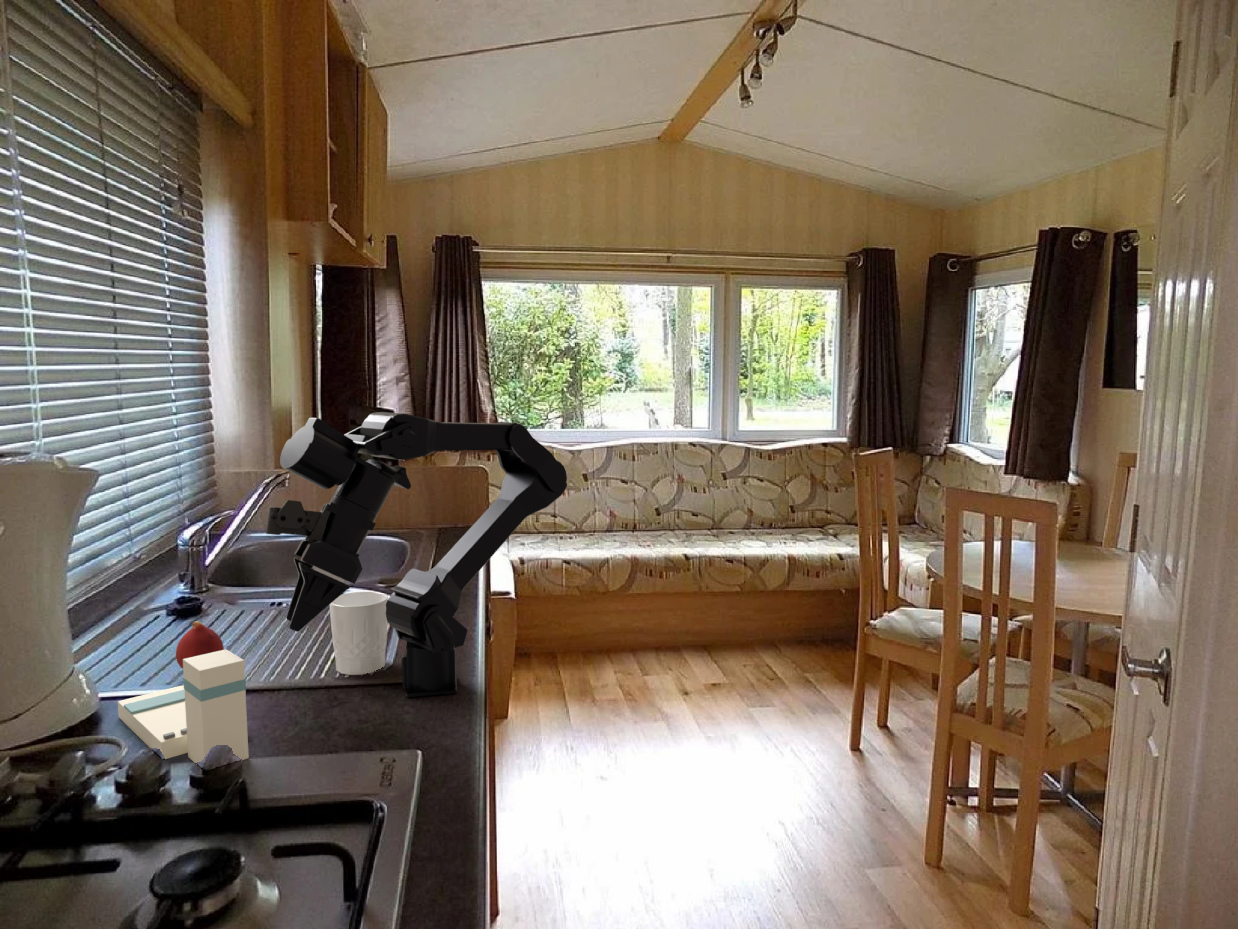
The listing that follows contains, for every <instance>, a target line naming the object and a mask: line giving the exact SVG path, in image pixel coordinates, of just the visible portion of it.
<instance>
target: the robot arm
mask: <svg viewBox="0 0 1238 929" xmlns="http://www.w3.org/2000/svg"><path fill="white" fill-rule="evenodd" d="M441 451H495V453H496V455H497V459H498V463H499V466H500V468H501V469H502V470H503V472H504V473H505V474H506V475H504V478H503V479H502V482H501V488H500V493H499V496H498V497H497V499H495V501H493V503H491V505H490V506H489V507H488V508H487V509H486V510H485V511H484V512H483V514H482V515H481V516H479V518H478V519H477V521H476V522H474V523H473V525H472V526H471V527H470V528H469V529H468V530H467V531H466V532H465V533H464V535H462V537H461V538H459V540H458V541H457V542H456V543H455V544H454V545H453V546H452V547H451V549H450V550H449V551H448V552H447V553H446V554H445V555H444V556H443V557H442V558H441V560H439V562H438V563H437V564H436V565H434V567H433V568H431V569H428V570H425V571H424V570H420V569H417V568H410V570H409V571H407V573H406V574H405V575H404V577H403V578H402V580H401V581H400V582H399V583H398V584H396V585H395V586H393V587H391V588H390V591H391V592H392V593H391V594H390V596H389V597H388V600H387V603H386V618H387V624H389V626H390V627H391V628H392V629H394V630H395V633H396V635H397V637H398V639H399V640H402V641H406V646H405V648H406V649H405V650H404V651H403V652H402V656H401V677H402V678H401V680H402V681H401V682H402V688H403V689H405V697H406V698H411V697H415V698H416V697H423V696H424V697H426V696H438V695H439V696H440V695H441V696H442V695H451V694H457V693H458V684H457V683H458V682H457V681H458V680H457V671H456V649H457V648H458V647H459V648H460V647H462V646H464V645H465V641H466V637H467V634H468V629H467V628H466V627H465V626H464V625H463V624H462V623H461V622H459V621H458V620H457V619H456V618H455V615H456V614H457V613H458V610H459V605H460V601H461V596H462V594H463V593H462V592H463V591H464V589H465V588H466V587H467V586H468V584H469V583H470V582H471V581H472V580H473V579H474V577H476V575H477V574H478V573H479V572H480V571H481V570H482V568H483V567H484V566H485V565H486V564H487V563H488V562H489V561H490V559H491V558H492V557H493V556H494V555H495V554H496V552H498V550H499V549H500V548H501V547H502V546H503V544H504V543H505V542H506V541H507V540H508V539H509V538H510V537H511V535H512V534H513V533H514V532H515V531H516V530H517V529H518V527H519V526H520V525H521V524H522V523H523V522H524V520H526V519H527V518H528V517H529V516H531V515H533V514H535V513H538V512H540V511H542V510H544V509H546V508H548V507H549V506H550V505H552V504H553V503H554V502H556V501H557V500H558V499H559V498H560V497H561V496H562V495H563V494H564V493H565V491H566V489H567V486H568V483H567V480H568V476H567V471H566V468H565V465H563V463H562V462H561V461H559V460H557V459H556V457H555V456H554V455H553V453H552V452H551V451H550V450H548V448H546V447H545V446H544V445H543V444H541V443H540V442H539V441H538V440H536V439H535V438H534V437H533V436H532V434H531V433H530V432H529V430H528V429H527V428H526V427H525V426H524V425H523V424H521V423H518V422H509V421H505V422H504V421H497V422H495V423H493V422H492V423H490V422H448V421H447V422H444V421H442V422H441V421H436V420H433V419H430V418H427V417H422V416H417V415H413V414H409V413H402V412H401V413H399V412H385V411H379V412H378V411H377V412H372V413H369V415H368V416H367V417H366V418H365V419H364V420H363V422H362V424H361V426H358V427H356V428H355V429H353V430H350V431H348V432H347V433H344V434H342V432H339V430H336V429H335V428H333V427H332V426H330V424H328V423H327V422H326V421H324V420H322V419H321V418H318V417H309V418H308V419H307V420H306V423H305V425H304V426H302V427H300V428H299V429H298V430H297V431H296V432H294V434H292V436H291V437H290V439H287V441H286V442H285V444H284V445H283V448H282V450H281V453H280V457H279V465H280V467H281V468H282V469H285V470H286V471H288V472H290V473H292V474H293V475H296V476H298V477H300V478H301V479H303V480H305V481H307V482H309V483H311V484H314V485H316V486H317V487H318V488H321V489H323V490H330V489H332V488H334V487H335V486H337V488H336V490H335V492H334V493H333V495H332V497H331V499H330V501H329V502H327V503H324V504H323V506H322V507H321V510H320V511H313V510H305V509H304V506H303V504H302V501H300V500H291V499H290V500H289V499H287V500H286V501H285V502H284V504H283V505H282V507H277V506H276V507H275V506H269V508H268V515H267V521H266V528H265V529H266V530H265V534H266V535H275V536H281V535H282V534H284V535H295V536H304V537H305V538H304V539H302V540H301V541H300V543H299V544H298V546H297V548H296V549H295V551H294V553H293V554H294V555H296V556H298V557H300V558H299V559H298V558H297V557H293V562H294V564H295V567H296V570H297V573H298V576H297V581H296V584H295V587H294V590H293V594H292V598H291V601H290V603H289V608H288V610H287V613H286V618H285V619H286V620H288V621H289V622H290V623H289V627H288V628H289V629H290V630H292V631H294V632H300V631H301V630H302V629H303V628H305V627H306V625H307V624H309V623H310V622H311V621H312V620H314V619H315V618H316V617H317V616H318V615H319V614H320V613H321V612H323V611H324V610H325V609H327V607H329V606H330V604H331V603H332V602H333V601H334V600H335V599H337V598H338V597H339V596H340V595H342V594H345V592H346V591H347V590H349V589H350V588H351V587H352V585H351V584H354V585H355V584H356V582H357V580H358V578H360V574H361V573H362V570H363V566H362V564H361V560H360V558H359V557H360V554H359V552H360V550H361V548H362V546H363V544H364V542H365V541H366V538H367V537H368V534H369V532H373V530H374V528H375V527H376V523H375V521H376V519H377V518H378V515H380V514H379V513H381V510H382V508H383V506H384V504H385V502H386V501H387V498H388V497H389V495H390V493H391V491H392V489H393V487H394V486H395V487H398V488H401V489H406V490H410V489H411V487H412V485H411V481H410V478H409V477H408V474H407V468H406V467H404V466H401V465H394V466H390V465H389V464H387V463H386V462H383V461H381V460H380V459H378V458H384V459H391V460H400V461H406V460H411V459H412V460H413V459H416V458H417V459H418V458H421V457H425V456H426V457H427V456H428V455H430V454H433V453H436V452H441ZM358 454H366V455H370V456H372V457H376V458H370V459H368V460H364V459H363V458H361V457H359V456H358ZM345 581H347V582H349V583H351V584H348V583H347V582H345Z"/></svg>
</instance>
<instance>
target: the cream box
mask: <svg viewBox="0 0 1238 929" xmlns="http://www.w3.org/2000/svg"><path fill="white" fill-rule="evenodd" d="M182 669H183V671H182V672H183V673H182V674H183V678H182V680H183V685H184V691H185V709H186V727H187V745H188V753H187V756H188V757H187V758H189V759H190V760H191V761H192V762H193V763H194V764H195V763H197V762H201V761H202V760H203V759H204V757H205V756H206V754H208V752H209V749H210V748H212V747H214V746H216V745H228V746H229V747H230V748H232V751H233V754H235V755H236V756H238V757H239V758H240V759H242V760H241V761H244V760H247V759H249V742H248V741H249V738H248V737H249V736H248V718H247V696H246V695H247V694H246V692H247V691H246V690H247V684H246V683H247V682H246V679H247V678H246V675H245V673H246V672H245V671H246V670H245V659H243V658H241V657H240V656H238V655H236V654H234V653H232V652H231V651H229V650H228V649H225V648H224V650H221V651H217V652H212V653H208V654H203V655H199V656H194V657H190V658H186V659H183V668H182Z"/></svg>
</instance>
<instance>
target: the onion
mask: <svg viewBox="0 0 1238 929" xmlns="http://www.w3.org/2000/svg"><path fill="white" fill-rule="evenodd" d="M191 625H192V628H191V629H189V630H188V631H187V632H186V633H184V634H183V635H182V637H181V638H180V639H179V641H178V643H177V645H176V649H175V658H176V662H177V664H178V665H179V667H180V668H181V669H183V659H186V658H190V657H194V656H199V655H203V654H208V653H212V652H217V651H221V650H225V648H224V644H223V641H222V639H221V637H220V635H219V634H218V633H217V632H216V631H215V630H213V629H211V628H210V627H208V626H206V625H205V624H203V623H202V622H200V621H197V620H195V621H193V622H192V624H191Z"/></svg>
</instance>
